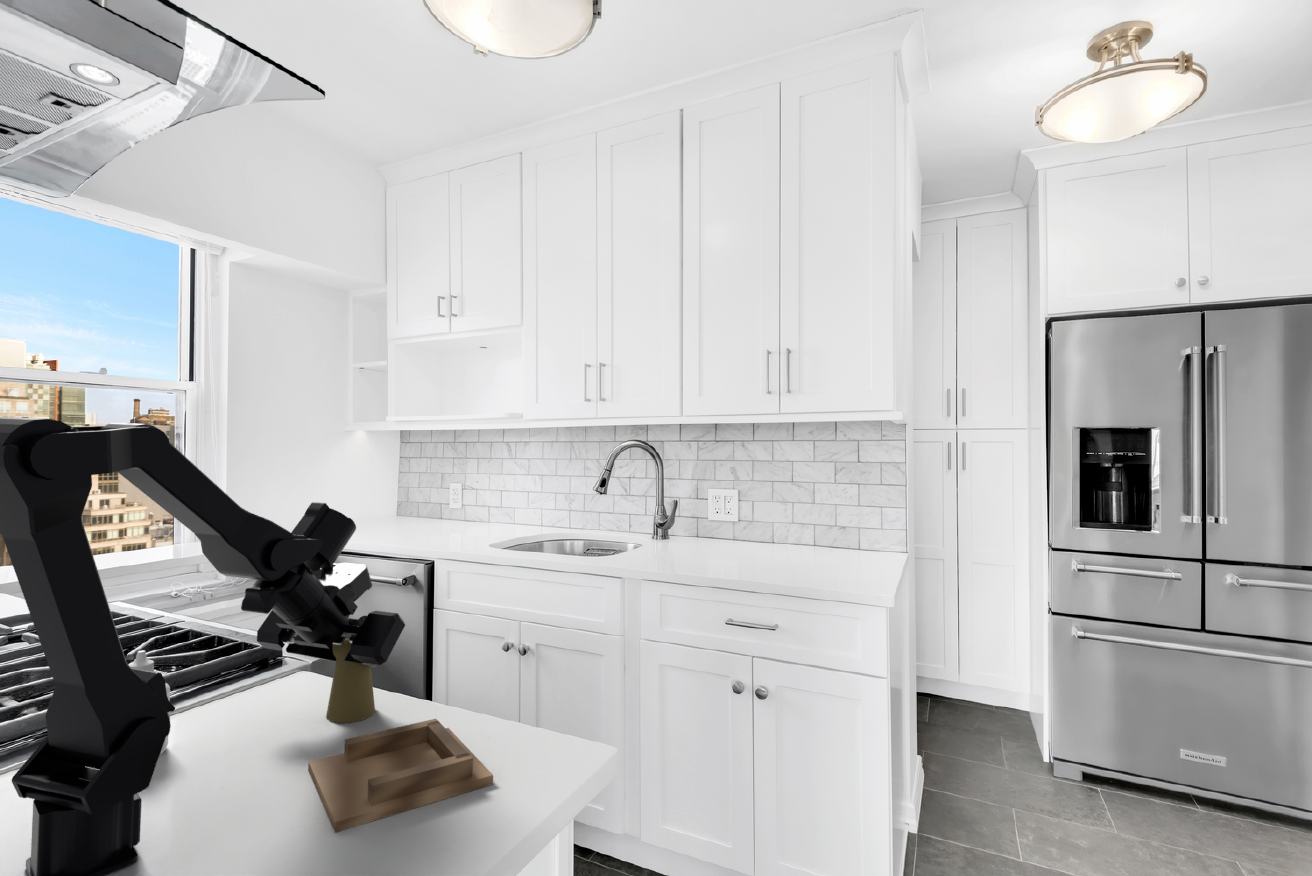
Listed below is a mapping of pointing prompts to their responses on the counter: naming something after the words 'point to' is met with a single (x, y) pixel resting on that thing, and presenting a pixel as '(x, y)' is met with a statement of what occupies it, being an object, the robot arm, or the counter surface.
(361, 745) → the seat
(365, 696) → the olive pepper mill
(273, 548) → the robot arm
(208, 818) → the counter surface
